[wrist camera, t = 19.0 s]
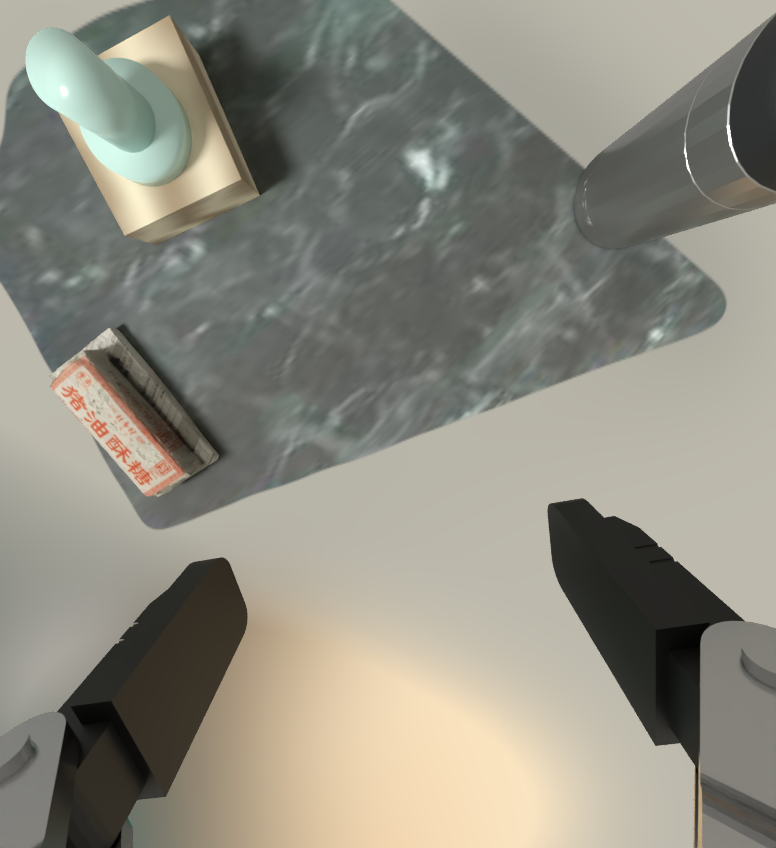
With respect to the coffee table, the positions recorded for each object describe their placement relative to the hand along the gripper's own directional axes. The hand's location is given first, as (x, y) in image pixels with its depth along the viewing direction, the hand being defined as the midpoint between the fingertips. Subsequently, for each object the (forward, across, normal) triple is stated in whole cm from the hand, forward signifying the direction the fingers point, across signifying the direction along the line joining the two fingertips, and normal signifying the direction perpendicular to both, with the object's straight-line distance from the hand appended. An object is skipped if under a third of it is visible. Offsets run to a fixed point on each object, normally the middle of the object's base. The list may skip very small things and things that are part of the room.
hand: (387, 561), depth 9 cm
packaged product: (+33, +30, -1) cm, 45 cm away
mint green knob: (+28, +17, -24) cm, 41 cm away
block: (+33, +17, -24) cm, 45 cm away
